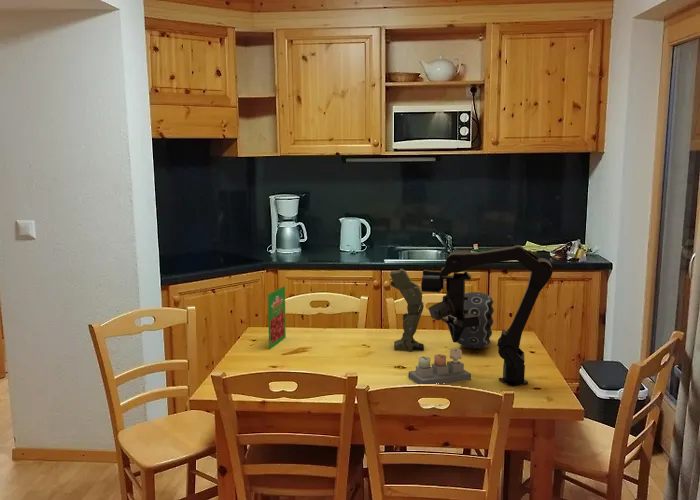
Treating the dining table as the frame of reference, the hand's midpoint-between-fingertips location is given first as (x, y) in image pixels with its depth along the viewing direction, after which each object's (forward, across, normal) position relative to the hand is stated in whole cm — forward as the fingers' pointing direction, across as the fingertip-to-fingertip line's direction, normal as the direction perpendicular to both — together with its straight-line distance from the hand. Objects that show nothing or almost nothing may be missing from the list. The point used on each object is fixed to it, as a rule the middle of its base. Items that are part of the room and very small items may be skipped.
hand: (455, 342), depth 201 cm
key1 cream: (+8, 0, 0) cm, 8 cm away
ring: (+12, -23, +23) cm, 34 cm away
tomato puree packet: (+10, -55, -41) cm, 69 cm away
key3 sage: (+9, 0, -11) cm, 14 cm away
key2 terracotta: (+9, 0, -5) cm, 10 cm away
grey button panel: (+11, 0, -5) cm, 12 cm away
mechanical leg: (+11, -31, 0) cm, 33 cm away
